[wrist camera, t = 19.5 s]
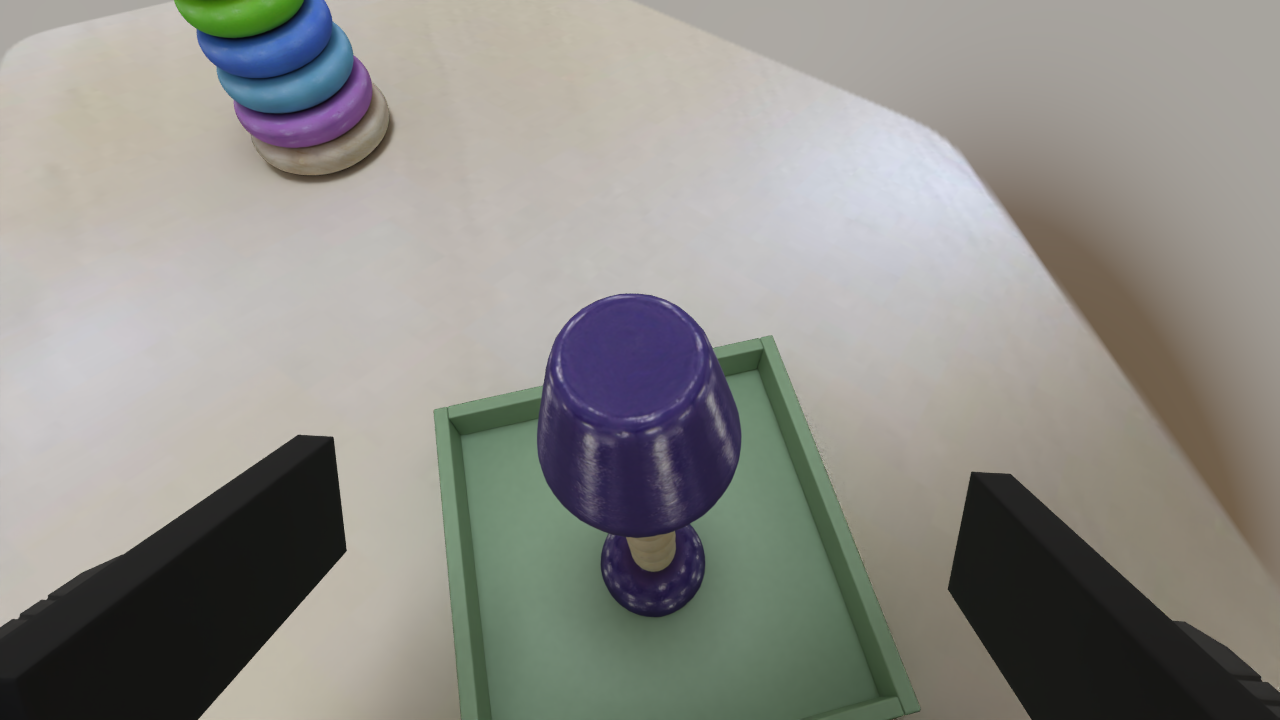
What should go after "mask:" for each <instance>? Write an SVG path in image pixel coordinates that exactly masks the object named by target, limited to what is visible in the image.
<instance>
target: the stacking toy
mask: <svg viewBox="0 0 1280 720" xmlns="http://www.w3.org/2000/svg"><path fill="white" fill-rule="evenodd" d="M174 1H175V4H176V6H177V8H178V10H179V12H180V13H181V15H182V16H183V17H184V18H185V19H186V21H187V22H188V23H190V24H191V25H192V26H194V27H195V28H196V29H197V38H198V42H199V45H200V47H201V49H202V51H203V52H204V54H205V55H206V57H207V58H208V59H209V60H210V61H211V62H212V63H213V64H215V65H216V66H217V74H218V78H219V81H220V83H221V85H222V87H223V88H224V90H225V91H226V92H227V93H228V95H229V96H230V97H231V98H233V99H234V109H235V112H236V115H237V117H238V119H239V121H240V122H241V124H242V125H243V126H244V128H245V129H246V130H247V131H248V132H249V133H250V134H251V137H252V141H253V144H254V146H255V148H256V149H257V151H258V153H259V154H260V155H261V156H262V157H263V158H264V159H265V160H266V161H267V162H268V163H269V164H271V165H273V166H274V167H276V168H278V169H280V170H282V171H286V172H289V173H294V174H300V175H322V174H329V173H333V172H337V171H340V170H343V169H346V168H348V167H350V166H352V165H354V164H356V163H357V162H359V161H361V160H362V159H364V158H365V157H366V156H367V155H369V154H370V153H371V152H372V151H373V150H374V149H375V148H376V147H377V146H378V145H379V143H380V142H381V140H382V139H383V137H384V135H385V133H386V130H387V128H388V123H389V108H388V105H387V101H386V99H385V97H384V95H383V94H382V92H381V91H380V90H379V88H378V87H377V86H376V85H375V84H374V83H372V82H371V78H370V76H369V73H368V71H367V69H366V68H365V66H364V65H363V64H362V63H361V61H360V60H359V59H358V58H356V57H355V56H354V55H353V50H352V47H351V44H350V41H349V39H348V37H347V36H346V34H345V33H344V32H343V30H342V29H341V28H340V27H339V26H338V25H337V24H335V23H334V22H333V21H332V16H331V13H330V10H329V8H328V6H327V4H326V2H325V1H324V0H174Z"/></svg>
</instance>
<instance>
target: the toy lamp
mask: <svg viewBox="0 0 1280 720" xmlns="http://www.w3.org/2000/svg"><path fill="white" fill-rule="evenodd" d="M741 438H742V433H741V424H740V418H739V412H738V409H737V406H736V403H735V400H734V398H733V395H732V393H731V390H730V388H729V385H728V383H727V380H726V378H725V375H724V373H723V371H722V368H721V366H720V364H719V361H718V359H717V356H716V354H715V352H714V350H713V348H712V346H711V344H710V342H709V340H708V338H707V336H706V334H705V332H704V330H703V329H702V328H701V327H700V326H699V325H698V324H697V323H696V321H695V320H694V319H693V318H692V317H691V316H690V315H688V314H687V313H686V312H685V311H684V310H682V309H681V308H680V307H678V306H677V305H675V304H673V303H671V302H669V301H667V300H665V299H662V298H658V297H655V296H652V295H644V294H618V295H614V296H610V297H606V298H603V299H600V300H598V301H595V302H594V303H592V304H590V305H588V306H586V307H585V308H583V309H581V310H580V311H579V312H578V313H577V314H575V315H574V316H573V317H572V318H571V319H570V320H569V321H568V322H567V323H566V324H565V326H564V327H563V328H562V330H561V331H560V332H559V334H558V335H557V337H556V339H555V341H554V344H553V346H552V349H551V352H550V355H549V358H548V362H547V366H546V372H545V379H544V384H543V390H542V397H541V404H540V410H539V418H538V427H537V450H538V458H539V462H540V465H541V469H542V472H543V475H544V477H545V480H546V482H547V484H548V486H549V487H550V489H551V491H552V492H553V494H554V495H555V496H556V498H557V499H558V500H559V502H560V503H561V504H562V505H563V506H564V507H565V508H566V509H567V510H568V511H569V512H570V513H571V514H573V515H574V516H575V517H577V518H578V519H579V520H580V521H582V522H584V523H586V524H588V525H589V526H592V527H594V528H596V529H598V530H601V531H603V532H606V533H609V534H608V535H607V537H606V540H605V542H604V545H603V548H602V553H601V572H602V577H603V580H604V582H605V585H606V587H607V589H608V591H609V592H610V594H611V596H612V597H613V598H614V599H615V600H616V601H617V602H618V603H619V604H620V605H621V606H622V607H624V608H626V609H627V610H628V611H630V612H632V613H635V614H637V615H640V616H646V617H663V616H666V615H669V614H672V613H674V612H676V611H677V610H679V609H681V608H682V607H684V606H685V605H686V604H687V603H688V602H689V601H690V600H691V599H692V598H693V597H694V596H695V594H696V593H697V591H698V590H699V588H700V587H701V584H702V581H703V577H704V574H705V554H704V548H703V545H702V542H701V539H700V538H699V536H698V534H697V532H696V531H695V530H694V528H693V527H692V526H691V524H690V523H692V522H694V521H696V520H697V519H699V518H700V517H702V516H703V515H705V514H706V513H707V512H708V511H709V510H710V509H711V508H712V507H713V506H714V505H715V504H716V503H717V501H718V500H719V499H720V498H721V497H722V495H723V494H724V493H725V491H726V490H727V488H728V486H729V484H730V483H731V481H732V479H733V476H734V474H735V471H736V468H737V465H738V462H739V457H740V451H741Z"/></svg>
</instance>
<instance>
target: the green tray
mask: <svg viewBox="0 0 1280 720" xmlns="http://www.w3.org/2000/svg"><path fill="white" fill-rule="evenodd" d="M713 350H714V352H715V354H716V356H717V359H718V361H719V364H720V366H721V368H722V371H723V373H724V375H725V378H726V380H727V383H728V385H729V388H730V390H731V393H732V395H733V398H734V400H735V403H736V406H737V409H738V412H739V418H740V424H741V433H742V438H741V451H740V457H739V462H738V465H737V468H736V471H735V474H734V476H733V479H732V481H731V483H730V484H729V486H728V488H727V490H726V491H725V493H724V494H723V495H722V497H721V498H720V499H719V500H718V501H717V503H716V504H715V505H714V506H713V507H712V508H711V509H710V510H709V511H708V512H707V513H706V514H705V515H703V516H702V517H700V518H699V519H697V520H696V521H694V522H692V523H690V524H691V526H692V527H693V528H694V530H695V531H696V532H697V534H698V536H699V538H700V539H701V542H702V545H703V548H704V554H705V574H704V577H703V581H702V584H701V587H700V588H699V590H698V591H697V593H696V594H695V596H694V597H693V598H692V599H691V600H690V601H689V602H688V603H687V604H686V605H685V606H684V607H682V608H681V609H679V610H677V611H676V612H674V613H672V614H669V615H666V616H663V617H646V616H640V615H637V614H635V613H632V612H630V611H628V610H627V609H626V608H624V607H622V606H621V605H620V604H619V603H618V602H617V601H616V600H615V599H614V598H613V597H612V596H611V594H610V592H609V591H608V589H607V587H606V585H605V582H604V580H603V577H602V572H601V553H602V548H603V545H604V542H605V540H606V537H607V535H608V534H609V533H606V532H603V531H601V530H598V529H596V528H594V527H592V526H589V525H588V524H586V523H584V522H582V521H580V520H579V519H578V518H577V517H575V516H574V515H573V514H571V513H570V512H569V511H568V510H567V509H566V508H565V507H564V506H563V505H562V504H561V503H560V502H559V500H558V499H557V498H556V496H555V495H554V494H553V492H552V491H551V489H550V487H549V486H548V484H547V482H546V480H545V477H544V475H543V472H542V469H541V465H540V462H539V458H538V450H537V427H538V418H539V410H540V404H541V397H542V390H543V386H539V387H534V388H530V389H525V390H521V391H516V392H512V393H507V394H503V395H498V396H494V397H489V398H485V399H480V400H475V401H471V402H466V403H462V404H457V405H453V406H449V407H448V408H447V407H444V408H439V409H435V410H434V422H435V433H436V444H437V455H438V466H439V477H440V488H441V500H442V511H443V522H444V533H445V544H446V555H447V566H448V578H449V589H450V600H451V611H452V622H453V633H454V644H455V655H456V667H457V678H458V689H459V700H460V711H461V720H891V719H894V718H898V717H901V716H903V715H908V714H912V713H915V712H919V711H920V710H921V709H920V706H919V703H918V701H917V698H916V696H915V693H914V691H913V688H912V686H911V683H910V681H909V678H908V676H907V673H906V671H905V668H904V666H903V663H902V661H901V658H900V656H899V653H898V650H897V648H896V645H895V643H894V640H893V638H892V635H891V633H890V630H889V628H888V625H887V623H886V620H885V618H884V615H883V613H882V610H881V608H880V605H879V603H878V600H877V598H876V595H875V593H874V590H873V588H872V585H871V583H870V580H869V578H868V575H867V573H866V570H865V567H864V565H863V562H862V560H861V557H860V555H859V552H858V550H857V547H856V545H855V542H854V540H853V537H852V535H851V532H850V530H849V527H848V525H847V522H846V520H845V517H844V515H843V512H842V510H841V507H840V505H839V502H838V500H837V497H836V495H835V492H834V490H833V487H832V484H831V482H830V479H829V477H828V474H827V472H826V469H825V467H824V464H823V462H822V459H821V457H820V454H819V452H818V449H817V447H816V444H815V442H814V439H813V437H812V434H811V432H810V429H809V427H808V424H807V422H806V419H805V417H804V414H803V412H802V409H801V407H800V404H799V401H798V399H797V396H796V394H795V391H794V389H793V386H792V384H791V381H790V379H789V376H788V374H787V371H786V369H785V366H784V364H783V361H782V359H781V356H780V354H779V351H778V349H777V346H776V344H775V341H774V339H773V336H772V335H770V336H766V337H761V338H760V339H759V338H757V339H752V340H748V341H743V342H738V343H734V344H729V345H725V346H720V347H716V348H713Z"/></svg>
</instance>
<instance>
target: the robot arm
mask: <svg viewBox="0 0 1280 720" xmlns="http://www.w3.org/2000/svg"><path fill="white" fill-rule="evenodd" d="M346 551H347V550H346V541H345V532H344V524H343V515H342V506H341V498H340V489H339V481H338V472H337V463H336V455H335V446H334V438H333V437H327V436H309V435H297V436H296V437H294V438H293V439H291V440H290V441H288V442H287V443H286V444H284V445H283V446H281V447H280V448H278V449H277V450H275V451H274V452H272V453H271V454H269V455H268V456H267V457H265V458H264V459H262V460H261V461H259V462H258V463H256V464H255V465H253V466H252V467H251V468H249V469H248V470H246V471H245V472H243V473H242V474H240V475H239V476H237V477H236V478H234V479H233V480H232V481H230V482H229V483H227V484H226V485H224V486H223V487H221V488H220V489H218V490H217V491H216V492H214V493H213V494H211V495H210V496H208V497H207V498H205V499H204V500H202V501H201V502H199V503H198V504H197V505H195V506H194V507H192V508H191V509H189V510H188V511H186V512H185V513H183V514H182V515H180V516H179V517H178V518H176V519H175V520H173V521H172V522H170V523H169V524H167V525H166V526H164V527H163V528H162V529H160V530H159V531H157V532H156V533H154V534H153V535H151V536H150V537H148V538H147V539H145V540H144V541H143V542H141V543H140V544H138V545H137V546H135V547H134V548H132V549H131V550H129V551H128V552H126V553H125V554H124V555H120V556H118V557H116V558H114V559H111V560H109V561H107V562H105V563H103V564H100V565H98V566H96V567H94V568H91V569H89V570H87V571H85V572H83V573H81V574H79V575H78V576H76V577H75V578H73V579H72V580H70V581H69V582H67V583H66V584H64V585H63V586H61V587H60V588H58V589H57V590H55V591H54V592H52V593H51V594H49V595H48V599H47V600H40V601H39V602H37V603H36V604H34V605H33V606H31V607H30V608H28V609H27V610H25V611H24V612H22V613H21V614H20V617H19V618H18V619H12V620H10V621H9V622H7V623H6V624H5V625H3V626H2V627H0V720H198V719H199V718H200V717H201V716H202V714H203V713H204V712H205V711H206V710H207V709H208V708H209V706H210V705H211V704H212V703H213V702H214V701H215V700H216V699H217V697H218V696H219V695H220V694H221V693H222V692H223V691H224V689H225V688H226V687H227V686H228V685H229V684H230V683H231V682H232V680H233V679H234V678H235V677H236V676H237V675H238V674H239V672H240V671H241V670H242V669H243V668H244V667H245V666H246V665H247V663H248V662H249V661H250V660H251V659H252V658H253V657H254V655H255V654H256V653H257V652H258V651H259V650H260V649H261V647H262V646H263V645H264V644H265V643H266V642H267V641H268V640H269V638H270V637H271V636H272V635H273V634H274V633H275V632H276V630H277V629H278V628H279V627H280V626H281V625H282V624H283V623H284V621H285V620H286V619H287V618H288V617H289V616H290V615H291V613H292V612H293V611H294V610H295V609H296V608H297V607H298V606H299V604H300V603H301V602H302V601H303V600H304V599H305V598H306V596H307V595H308V594H309V593H310V592H311V591H312V590H313V589H314V587H315V586H316V585H317V584H318V583H319V582H320V581H321V579H322V578H323V577H324V576H325V575H326V574H327V573H328V572H329V570H330V569H331V568H332V567H333V566H334V565H335V564H336V562H337V561H338V560H339V559H340V558H341V557H342V556H343V555H344V553H345V552H346ZM948 590H949V592H950V593H951V595H952V597H953V598H954V600H955V601H956V603H957V604H958V606H959V607H960V609H961V611H962V612H963V614H964V615H965V617H966V618H967V620H968V621H969V623H970V625H971V626H972V628H973V629H974V631H975V632H976V634H977V635H978V637H979V639H980V640H981V642H982V643H983V645H984V646H985V648H986V649H987V651H988V652H989V654H990V656H991V657H992V659H993V660H994V662H995V663H996V665H997V666H998V668H999V670H1000V671H1001V673H1002V674H1003V676H1004V677H1005V679H1006V680H1007V682H1008V684H1009V685H1010V687H1011V688H1012V690H1013V691H1014V693H1015V694H1016V696H1017V697H1018V699H1019V701H1020V702H1021V704H1022V705H1023V707H1024V708H1025V710H1026V711H1027V713H1028V715H1029V716H1030V718H1031V719H1032V720H1280V692H1278V691H1277V690H1276V689H1275V688H1274V687H1273V686H1271V685H1270V684H1269V683H1268V682H1262V680H1261V676H1260V675H1259V674H1258V673H1256V672H1255V671H1254V670H1253V669H1252V668H1251V667H1250V666H1248V665H1247V664H1246V663H1245V662H1244V661H1243V660H1241V659H1240V658H1239V657H1238V656H1237V655H1236V654H1235V653H1233V652H1232V651H1231V650H1230V649H1229V648H1228V647H1226V646H1224V645H1223V644H1221V643H1219V642H1218V641H1216V640H1214V639H1213V638H1211V637H1209V636H1208V635H1206V634H1204V633H1203V632H1201V631H1199V630H1198V629H1196V628H1194V627H1193V626H1191V625H1189V624H1188V623H1186V622H1182V621H1172V620H1171V619H1170V618H1168V617H1167V616H1166V615H1165V614H1164V613H1163V612H1162V611H1161V610H1160V609H1159V608H1157V607H1156V606H1155V605H1154V604H1153V603H1152V602H1151V601H1150V600H1149V599H1148V598H1146V597H1145V596H1144V595H1143V594H1142V593H1141V592H1140V591H1139V590H1138V589H1137V588H1135V587H1134V586H1133V585H1132V584H1131V583H1130V582H1129V581H1128V580H1127V579H1126V578H1124V577H1123V576H1122V575H1121V574H1120V573H1119V572H1118V571H1117V570H1116V569H1115V568H1113V567H1112V566H1111V565H1110V564H1109V563H1108V562H1107V561H1106V560H1105V559H1104V558H1102V557H1101V556H1100V555H1099V554H1098V553H1097V552H1096V551H1095V550H1094V549H1093V548H1091V547H1090V546H1089V545H1088V544H1087V543H1086V542H1085V541H1084V540H1083V539H1082V538H1080V537H1079V536H1078V535H1077V534H1076V533H1075V532H1074V531H1073V530H1072V529H1071V528H1069V527H1068V526H1067V525H1066V524H1065V523H1064V522H1063V521H1062V520H1061V519H1060V518H1058V517H1057V516H1056V515H1055V514H1054V513H1053V512H1052V511H1051V510H1050V509H1049V508H1047V507H1046V506H1045V505H1044V504H1043V503H1042V502H1041V501H1040V500H1039V499H1038V498H1036V497H1035V496H1034V495H1033V494H1032V493H1031V492H1030V491H1029V490H1028V489H1027V488H1025V487H1024V486H1023V485H1022V484H1021V483H1020V482H1019V481H1018V480H1017V479H1016V478H1014V477H1013V476H1012V475H1011V474H1002V473H983V472H971V476H970V481H969V486H968V491H967V496H966V501H965V506H964V511H963V516H962V521H961V526H960V531H959V536H958V541H957V546H956V551H955V556H954V561H953V566H952V571H951V576H950V581H949V586H948Z"/></svg>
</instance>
